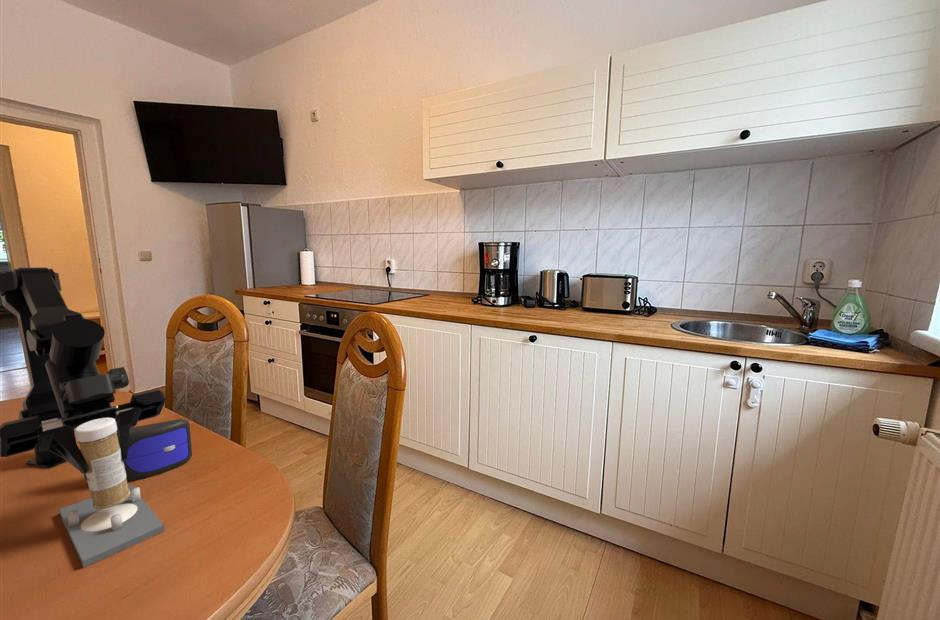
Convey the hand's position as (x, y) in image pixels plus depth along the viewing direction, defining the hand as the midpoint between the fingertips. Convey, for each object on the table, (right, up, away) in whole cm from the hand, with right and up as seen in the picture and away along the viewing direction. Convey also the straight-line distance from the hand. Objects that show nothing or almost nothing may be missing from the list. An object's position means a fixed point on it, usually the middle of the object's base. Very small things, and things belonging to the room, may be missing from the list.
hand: (106, 465), depth 59 cm
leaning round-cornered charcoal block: (-9, -8, +17) cm, 20 cm away
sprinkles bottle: (-1, -7, +2) cm, 7 cm away
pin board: (-1, -10, +2) cm, 10 cm away
